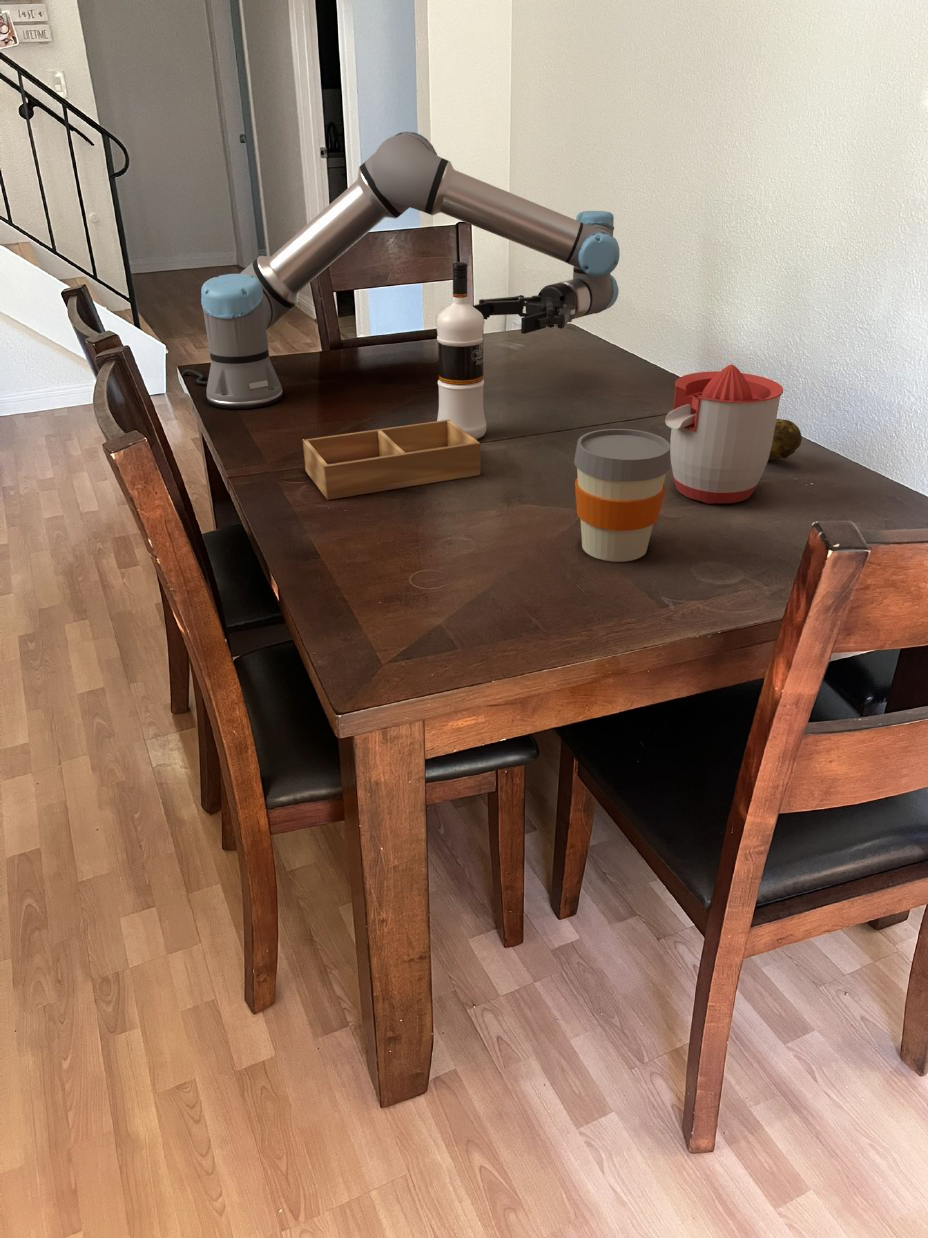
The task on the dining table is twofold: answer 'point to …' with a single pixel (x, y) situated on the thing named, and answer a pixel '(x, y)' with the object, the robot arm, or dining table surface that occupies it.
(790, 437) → the potato
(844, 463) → the dining table surface
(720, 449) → the citrus juicer
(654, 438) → the reusable coffee cup
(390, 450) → the wooden divided tray
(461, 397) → the vodka
